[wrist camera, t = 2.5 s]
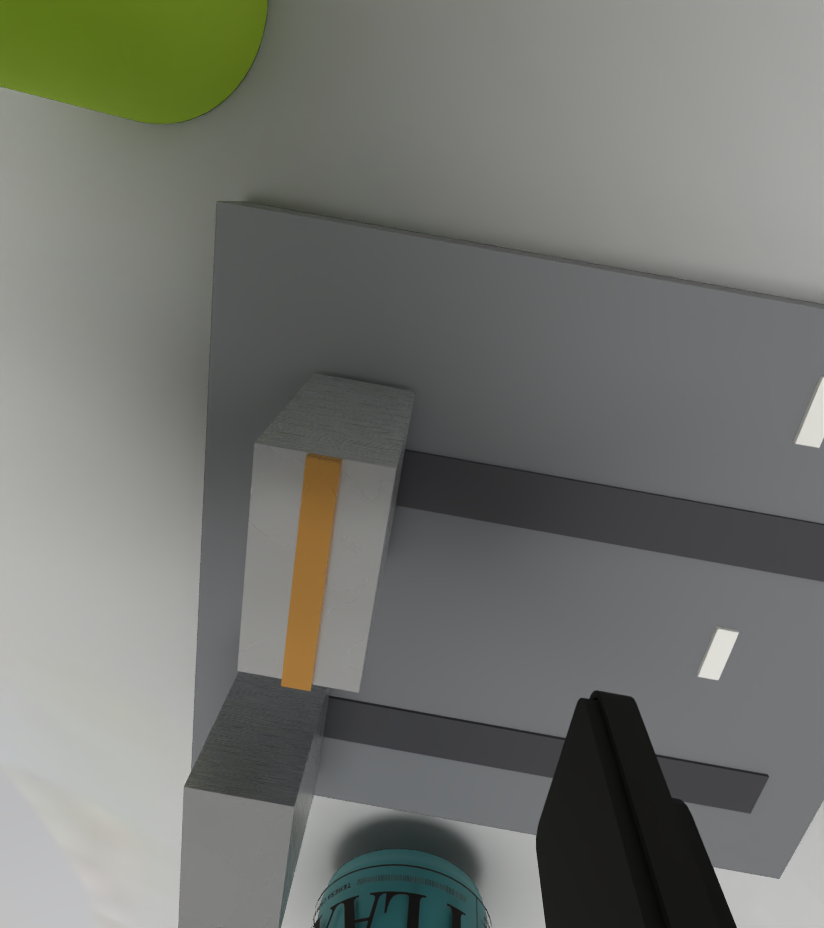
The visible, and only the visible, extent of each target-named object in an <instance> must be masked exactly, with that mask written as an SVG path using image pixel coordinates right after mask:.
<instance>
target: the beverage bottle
mask: <svg viewBox="0 0 824 928" xmlns="http://www.w3.org/2000/svg"><path fill="white" fill-rule="evenodd" d="M324 892H325V893H324ZM324 892H323V893H324V895H323V898H322V900H321V904H320V907H319V909H320V910H319V909H318V910H319V915H318V920H317V921H316V923H314V926H313V927H314V928H487V916H486V912H485V910H486V911H487V909H486V908H485V906H484V905H483V902H482V898H481V896H480V893H479V891H478V889H477V887H476V886H475V884H474V882H473V881H472V880H471V879H470V878H469V877H468V876H467V875H466V874H465V873H464V872H463V871H462V870H461V869H459V868H458V867H456V866H455V865H453V864H452V863H450V862H448V861H447V860H444V859H442V858H440V857H438V856H435V855H432V854H429V853H425V852H421V851H415V850H408V849H386V850H379V851H374V852H370V853H367V854H364V855H361V856H358V857H356V858H354V859H352V860H350V861H349V862H347V863H346V864H344V865H343V866H342V867H341V868H340V869H339V870H338V871H337V872H336V873H335V874H334V875H333V877H332V879H331V880H330V882H329V884H328V887H327V888H326V889H325V891H324ZM323 893H322V894H323ZM322 894H321V896H322ZM321 896H320V897H321ZM319 899H320V898H319ZM319 899H318V901H319ZM317 903H318V902H317ZM316 905H317V904H316ZM315 908H316V907H315ZM316 911H317V910H316ZM317 912H318V911H317ZM487 913H488V912H487ZM315 915H316V912H315ZM488 916H489V914H488ZM314 917H315V916H314ZM489 918H490V916H489ZM313 920H314V919H313ZM490 922H491V920H490ZM491 926H492V925H491ZM311 928H312V927H311Z"/></svg>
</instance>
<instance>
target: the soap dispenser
mask: <svg viewBox="0 0 824 928" xmlns="http://www.w3.org/2000/svg"><path fill="white" fill-rule="evenodd" d="M267 7H268V0H0V87H4V88H8V89H12V90H16V91H20V92H24V93H28V94H32V95H36V96H40V97H44V98H48V99H52V100H56V101H60V102H64V103H67V104H71V105H75V106H79V107H83V108H87V109H91V110H95V111H99V112H103V113H107V114H111V115H115V116H119V117H123V118H127V119H130V120H134V121H139V122H144V123H152V124H169V123H177V122H182V121H186V120H190V119H193V118H195V117H198V116H200V115H202V114H204V113H206V112H208V111H210V110H212V109H213V108H215V107H216V106H217V105H219V104H220V103H221V102H223V101H224V100H225V99H226V98H227V97H228V96H229V95H230V94H231V93H232V92H233V91H234V90H235V89H236V88H237V86H238V85H239V84H240V83H241V81H242V80H243V78H244V77H245V75H246V74H247V72H248V70H249V69H250V67H251V65H252V63H253V61H254V59H255V56H256V54H257V52H258V49H259V46H260V43H261V40H262V36H263V32H264V28H265V22H266V16H267Z"/></svg>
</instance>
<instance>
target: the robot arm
mask: <svg viewBox="0 0 824 928" xmlns="http://www.w3.org/2000/svg"><path fill="white" fill-rule="evenodd" d="M536 851H537V860H538V868H539V876H540V884H541V892H542V900H543V908H544V916H545V924H546V928H737V927H736V924H735V922H734V919H733V917H732V914H731V912H730V909H729V907H728V904H727V902H726V899H725V897H724V894H723V892H722V889H721V887H720V884H719V882H718V879H717V876H716V874H715V871H714V869H713V866H712V864H711V861H710V859H709V856H708V854H707V851H706V849H705V846H704V844H703V841H702V839H701V836H700V834H699V831H698V829H697V826H696V824H695V821H694V819H693V816H692V814H691V812H690V810H689V808H688V806H687V805H686V804H685V803H684V802H683V801H682V800H681V799H676V798H672V797H671V794H670V791H669V789H668V786H667V783H666V781H665V778H664V775H663V773H662V770H661V767H660V765H659V762H658V759H657V757H656V754H655V751H654V749H653V746H652V743H651V741H650V738H649V735H648V733H647V730H646V727H645V725H644V722H643V719H642V717H641V714H640V711H639V708H638V706H637V703H636V701H635V700H634V698H632V697H631V696H626V695H620V694H615V693H609V692H604V691H598V690H596V691H593V693H592V694H591V696H590V698H589V699H587V698H580V699H579V700H578V702H577V704H576V707H575V710H574V714H573V717H572V720H571V723H570V726H569V729H568V732H567V736H566V739H565V742H564V745H563V748H562V751H561V754H560V757H559V761H558V764H557V767H556V770H555V773H554V776H553V779H552V783H551V786H550V789H549V792H548V795H547V798H546V801H545V804H544V808H543V811H542V814H541V817H540V820H539V824H538V828H537V836H536Z"/></svg>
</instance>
